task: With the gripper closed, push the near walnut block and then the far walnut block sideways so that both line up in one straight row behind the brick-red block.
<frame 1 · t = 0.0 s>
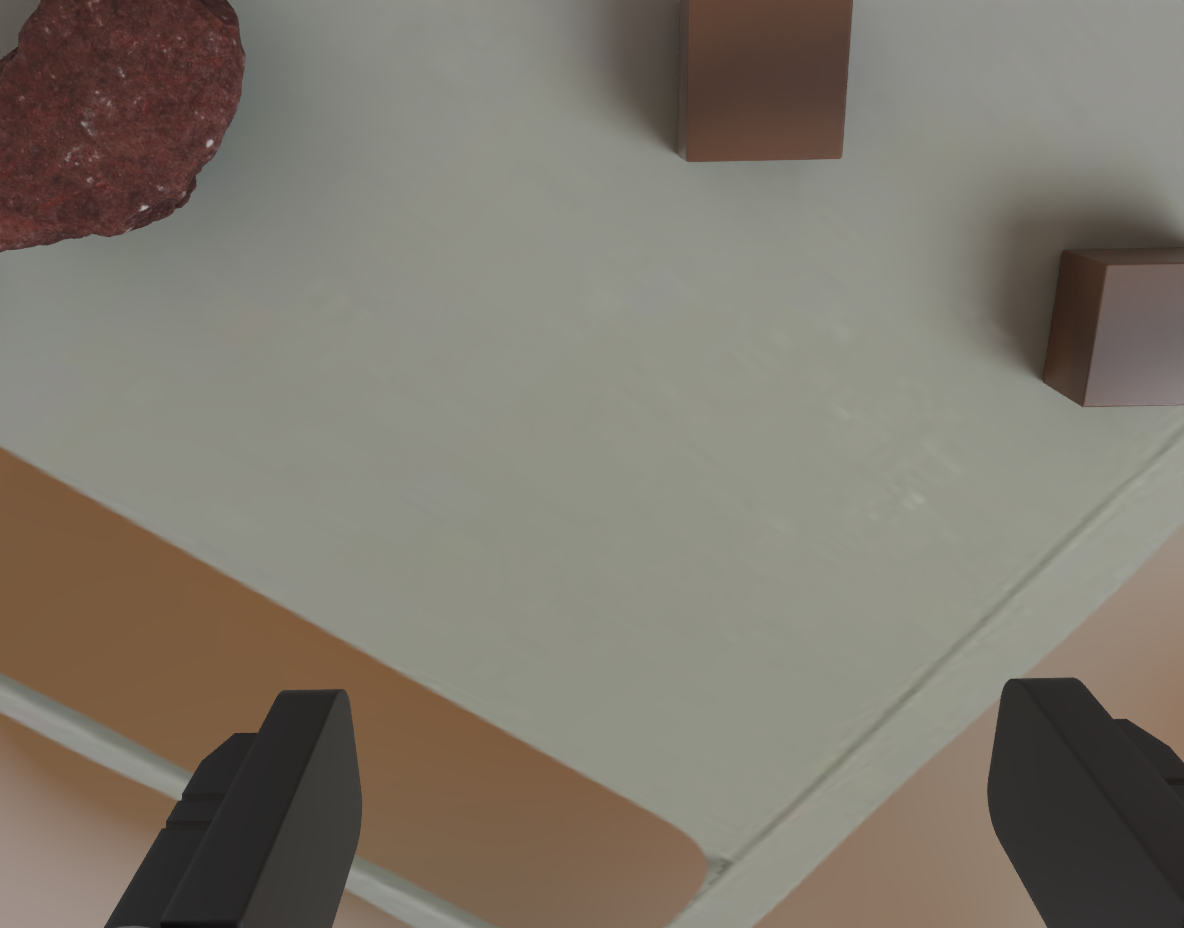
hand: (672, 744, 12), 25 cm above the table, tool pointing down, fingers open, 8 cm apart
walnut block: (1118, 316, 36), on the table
rock: (129, 237, 32), point 3 cm above the table
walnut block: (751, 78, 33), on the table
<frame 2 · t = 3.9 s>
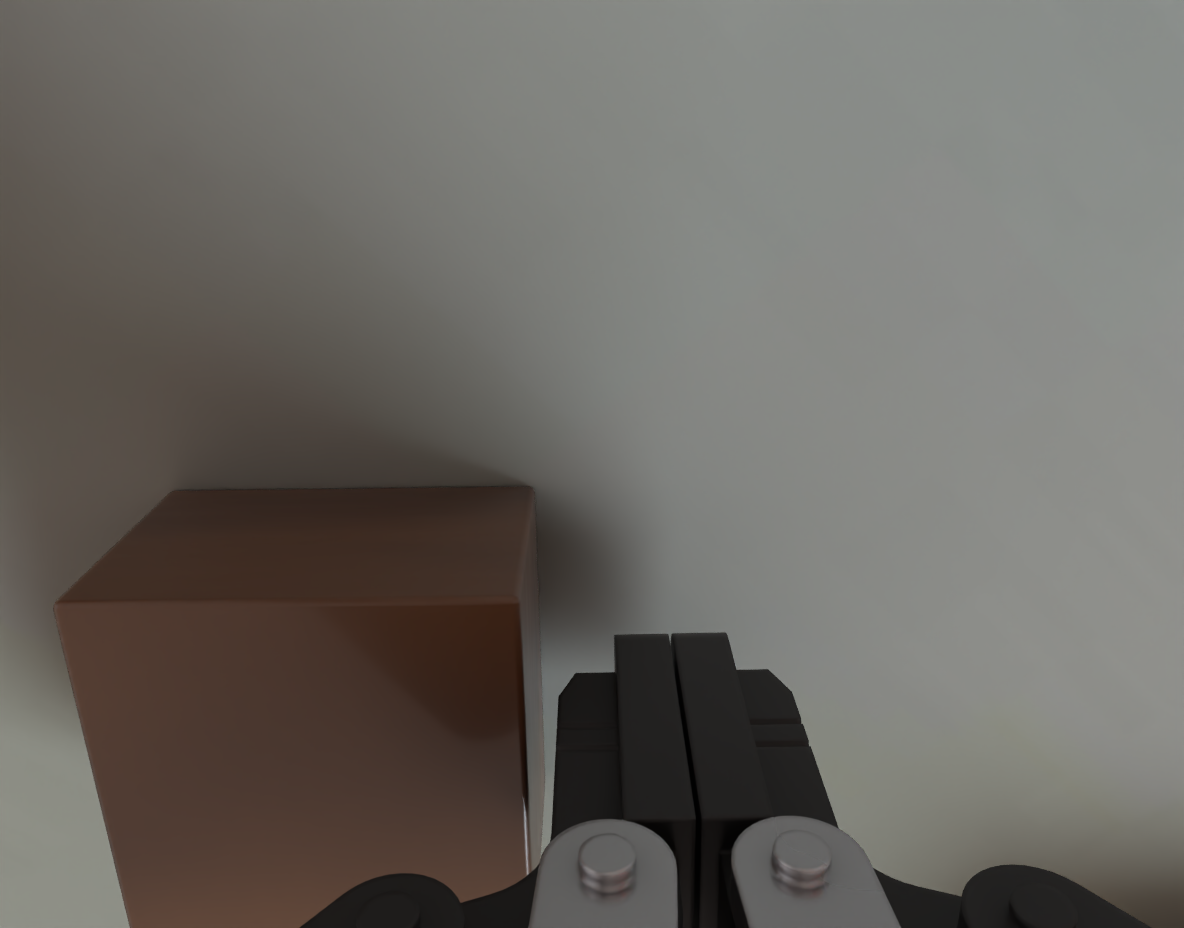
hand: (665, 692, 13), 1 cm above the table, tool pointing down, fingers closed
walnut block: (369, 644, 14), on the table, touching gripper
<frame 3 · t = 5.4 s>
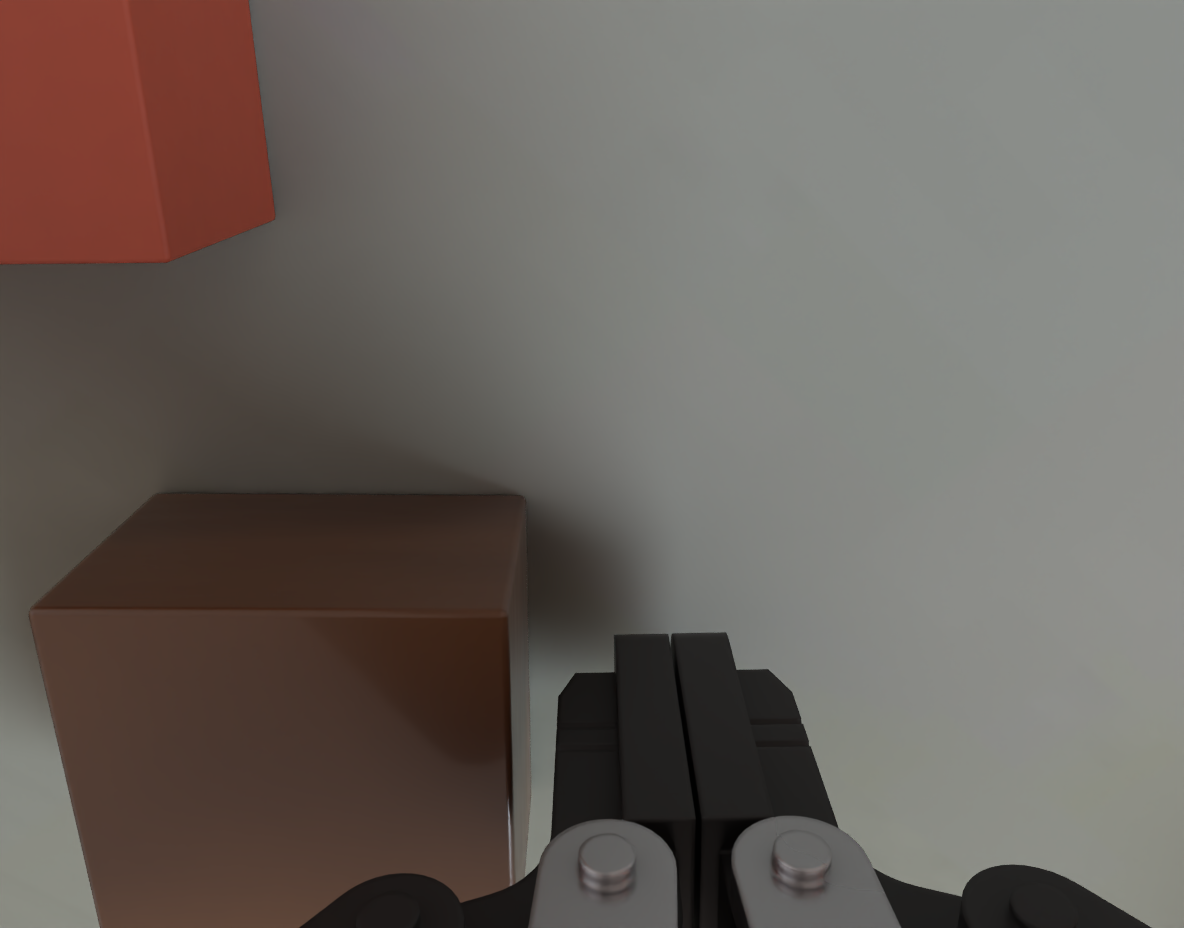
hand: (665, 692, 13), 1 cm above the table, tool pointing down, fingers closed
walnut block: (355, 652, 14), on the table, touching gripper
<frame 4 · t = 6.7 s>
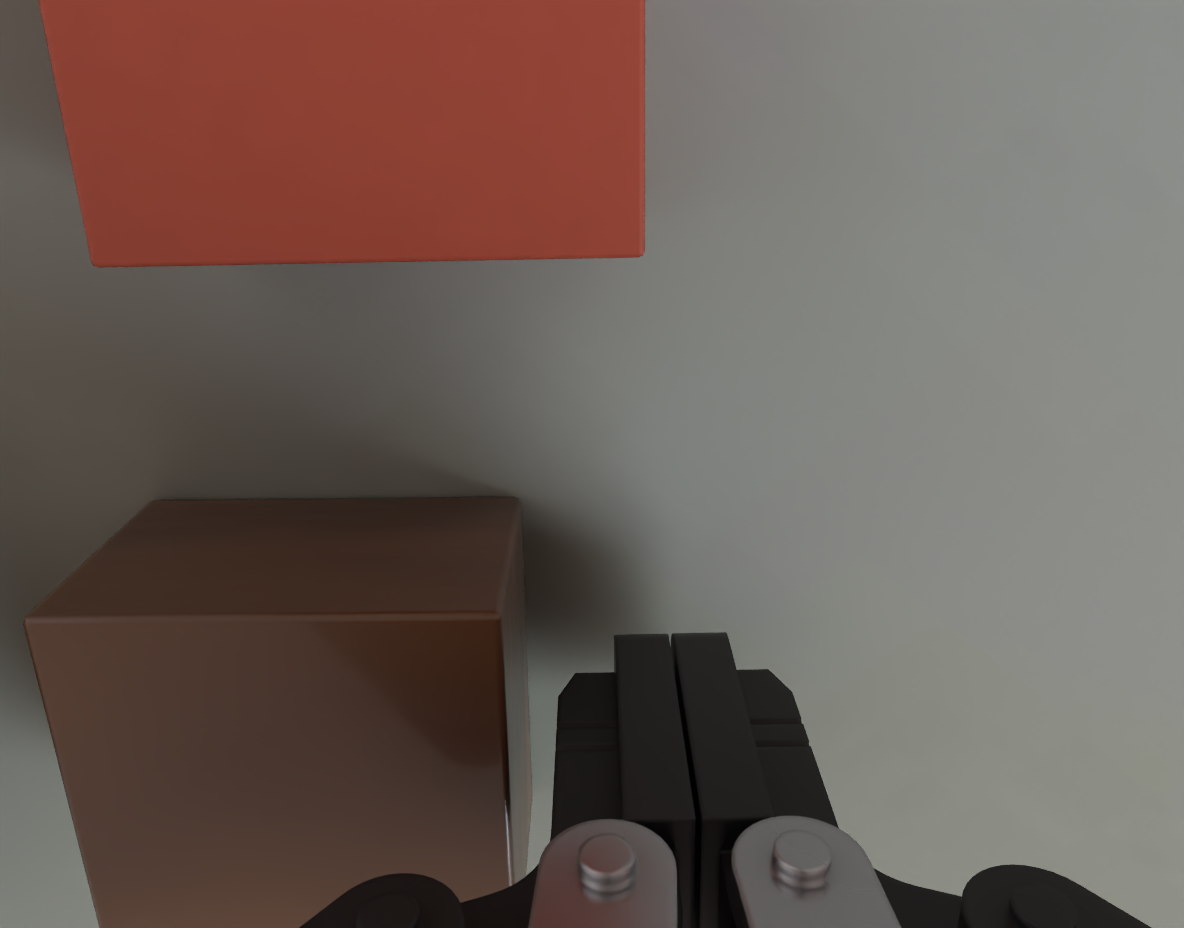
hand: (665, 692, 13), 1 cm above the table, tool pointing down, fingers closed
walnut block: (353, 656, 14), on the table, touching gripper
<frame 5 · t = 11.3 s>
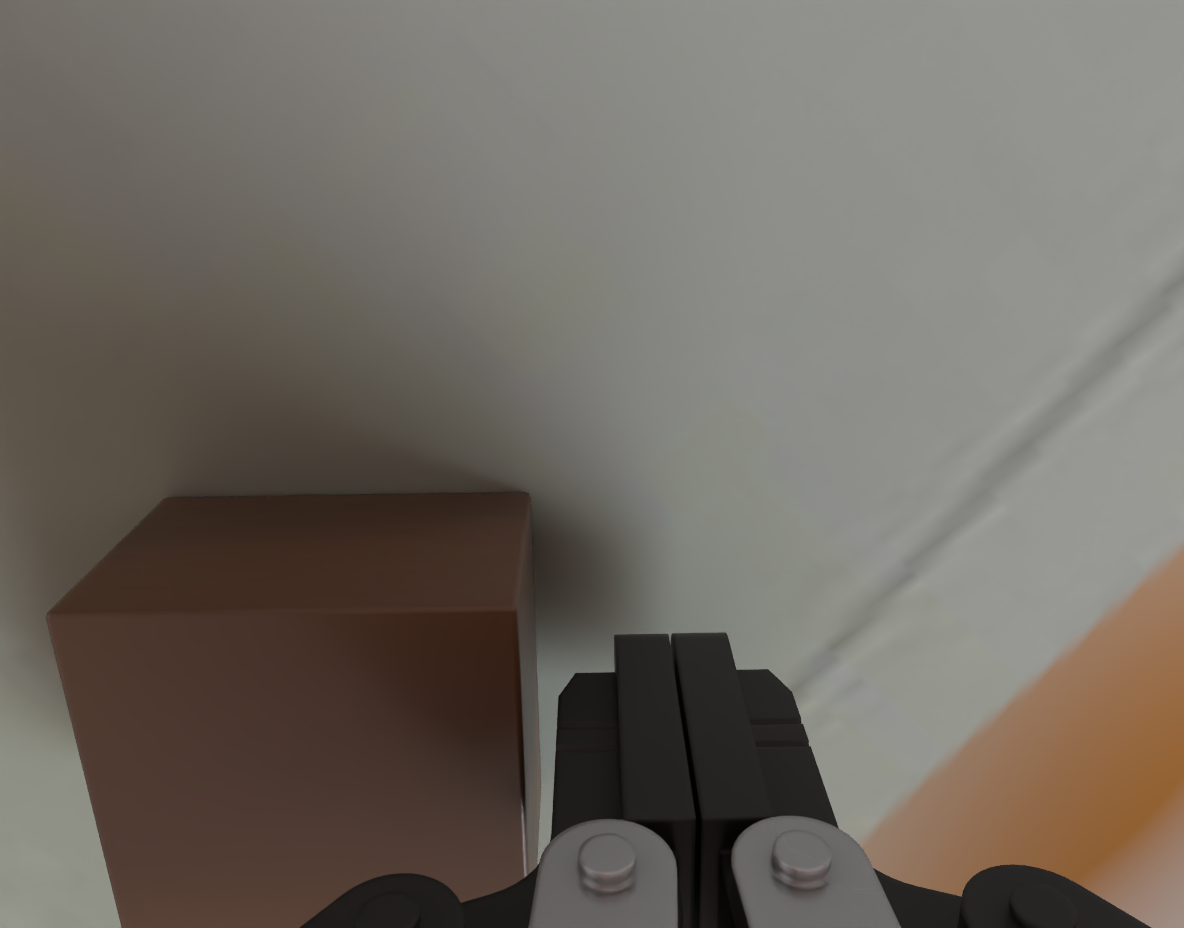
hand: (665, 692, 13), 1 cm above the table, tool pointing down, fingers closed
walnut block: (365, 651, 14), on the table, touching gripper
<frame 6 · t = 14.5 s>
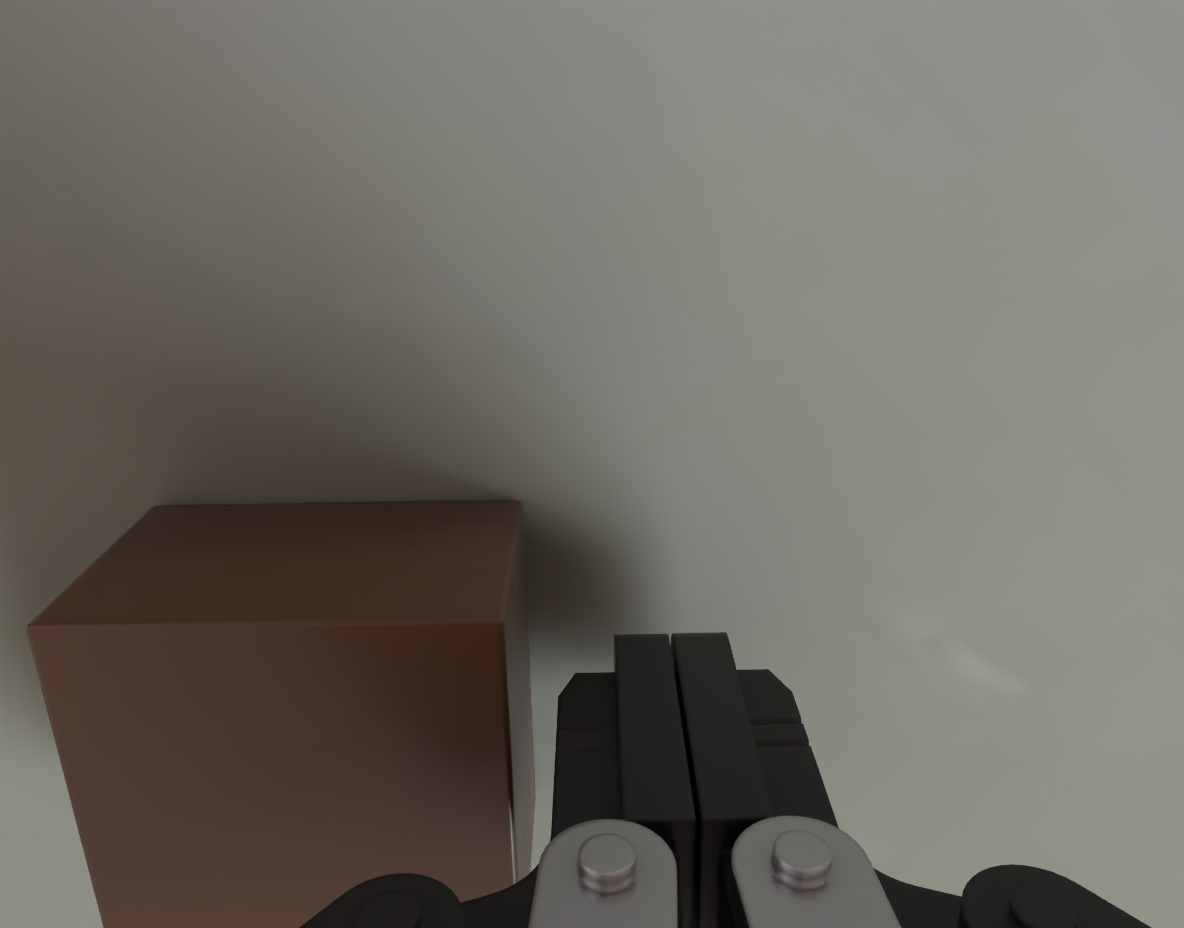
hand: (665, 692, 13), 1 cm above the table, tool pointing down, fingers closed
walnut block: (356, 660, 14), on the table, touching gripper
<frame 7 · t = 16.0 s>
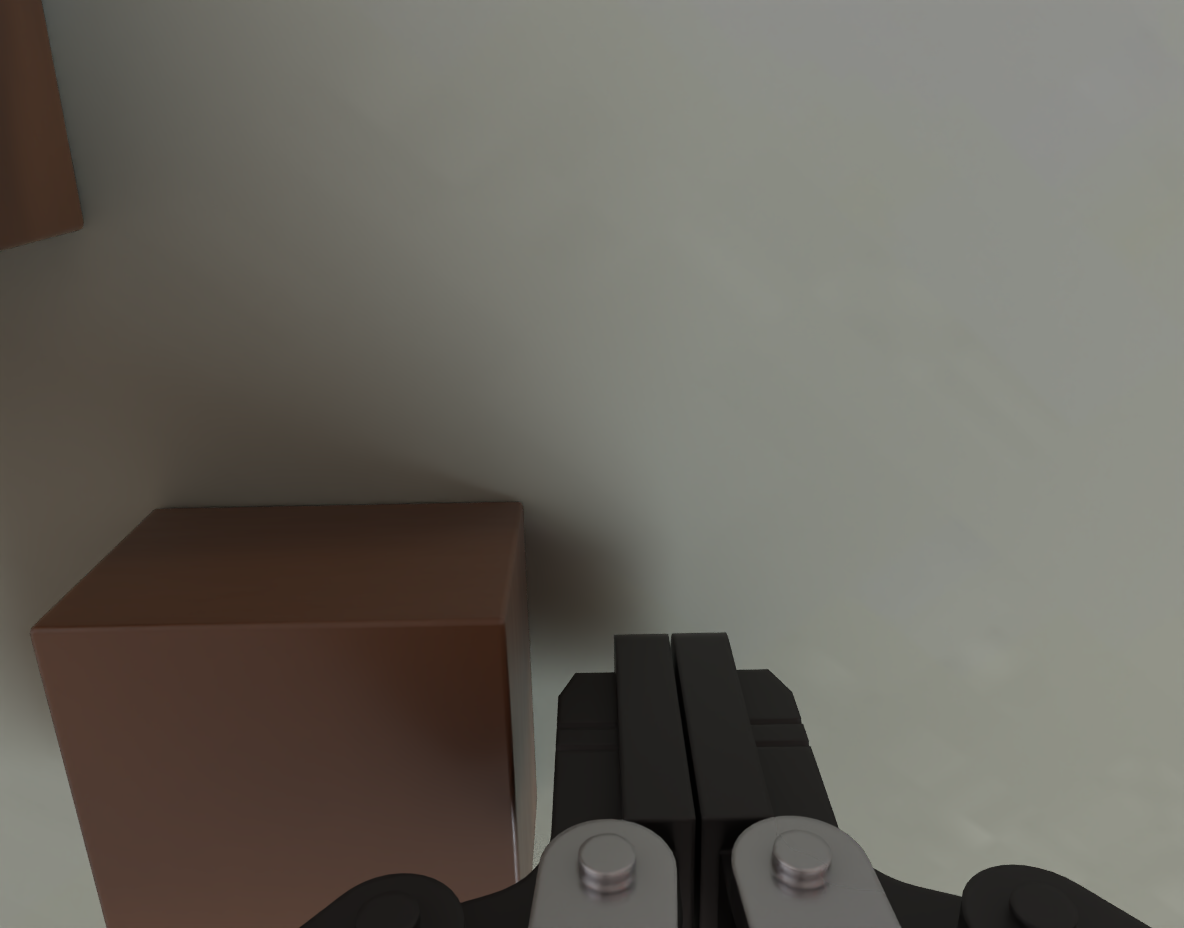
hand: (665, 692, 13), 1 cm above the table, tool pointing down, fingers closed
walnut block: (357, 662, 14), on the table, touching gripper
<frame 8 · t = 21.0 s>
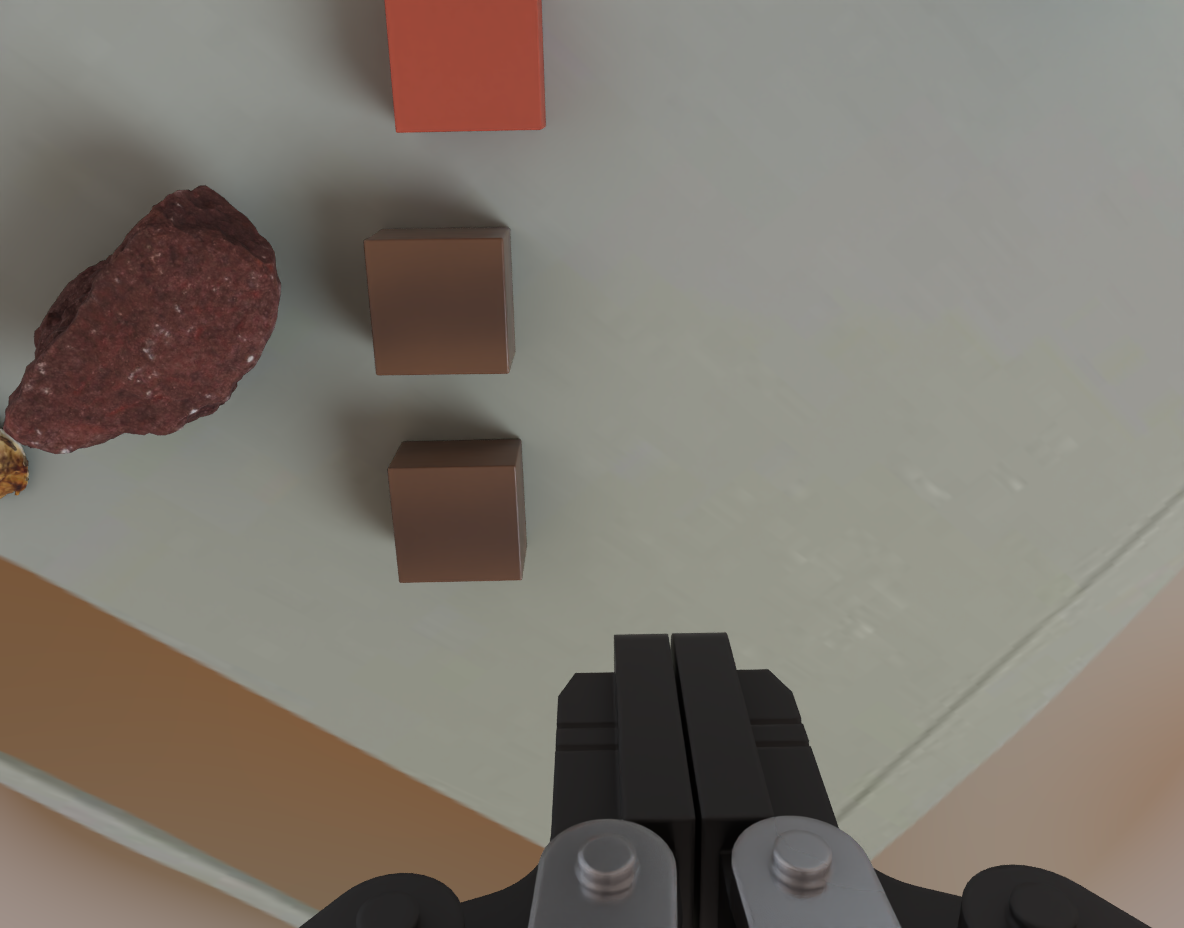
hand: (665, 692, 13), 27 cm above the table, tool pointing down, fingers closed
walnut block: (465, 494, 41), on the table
rock: (179, 429, 37), point 3 cm above the table
brick-red block: (474, 55, 35), on the table
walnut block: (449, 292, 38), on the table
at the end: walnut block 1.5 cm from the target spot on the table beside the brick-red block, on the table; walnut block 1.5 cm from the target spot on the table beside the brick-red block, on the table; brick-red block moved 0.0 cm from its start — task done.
